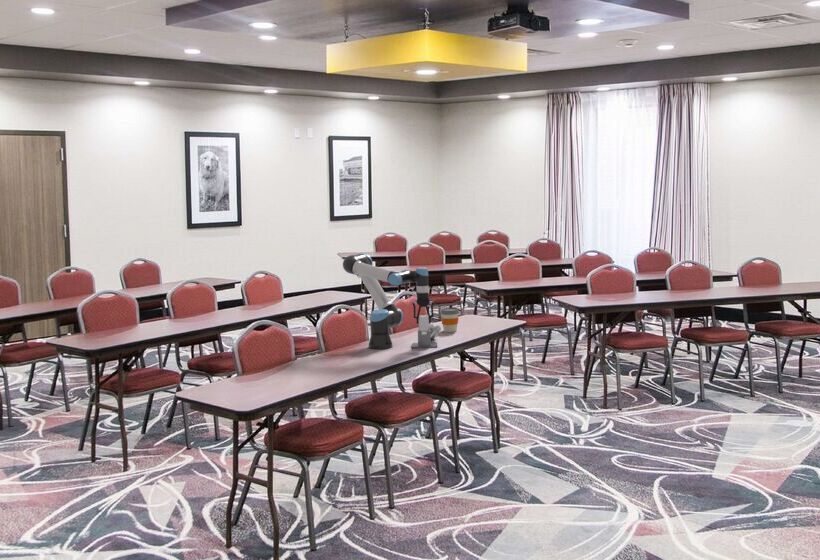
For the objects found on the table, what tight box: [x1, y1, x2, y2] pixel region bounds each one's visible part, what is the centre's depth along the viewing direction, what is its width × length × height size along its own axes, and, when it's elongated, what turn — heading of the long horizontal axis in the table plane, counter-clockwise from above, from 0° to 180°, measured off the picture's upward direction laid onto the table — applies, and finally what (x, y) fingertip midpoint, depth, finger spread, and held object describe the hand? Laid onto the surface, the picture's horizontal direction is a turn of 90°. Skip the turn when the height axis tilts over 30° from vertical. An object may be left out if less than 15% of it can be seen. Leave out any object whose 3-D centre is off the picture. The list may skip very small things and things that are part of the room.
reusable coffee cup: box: [440, 307, 460, 333], centre depth 600 cm, size 13×13×15 cm
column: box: [419, 314, 429, 332], centre depth 549 cm, size 5×5×18 cm
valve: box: [429, 323, 442, 340], centre depth 566 cm, size 10×18×15 cm
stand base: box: [411, 329, 438, 349], centre depth 550 cm, size 16×12×10 cm
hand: (423, 328), depth 549 cm, fingers closed on column, 5 cm apart
